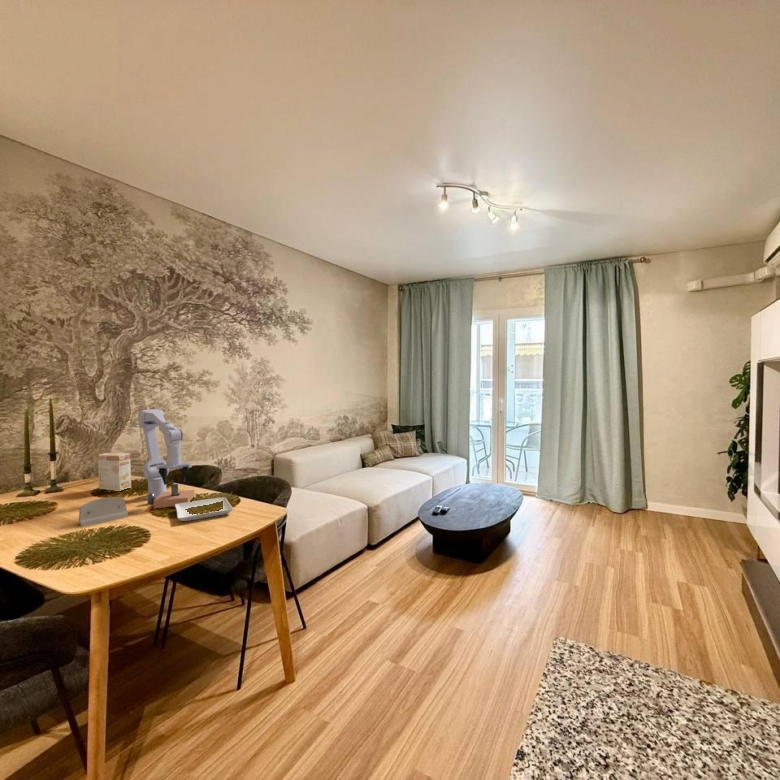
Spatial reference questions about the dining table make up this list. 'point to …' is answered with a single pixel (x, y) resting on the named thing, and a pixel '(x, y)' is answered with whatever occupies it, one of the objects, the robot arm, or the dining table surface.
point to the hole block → (173, 498)
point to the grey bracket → (102, 511)
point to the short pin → (150, 498)
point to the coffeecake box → (114, 471)
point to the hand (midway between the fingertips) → (174, 483)
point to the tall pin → (174, 490)
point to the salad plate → (185, 515)
